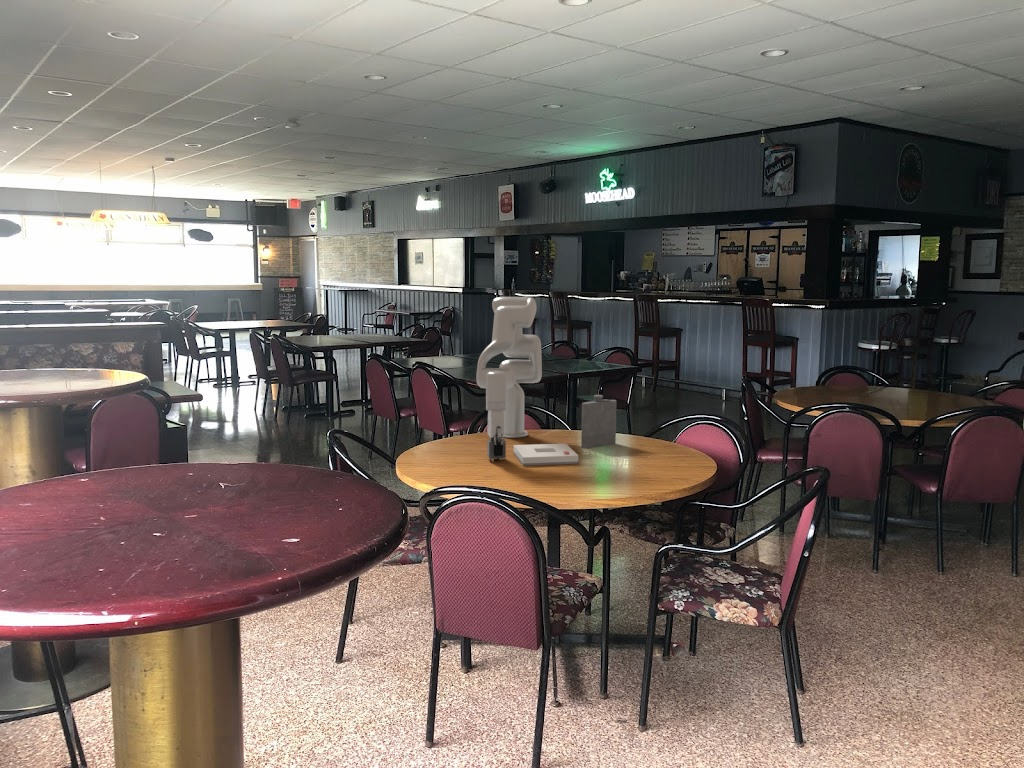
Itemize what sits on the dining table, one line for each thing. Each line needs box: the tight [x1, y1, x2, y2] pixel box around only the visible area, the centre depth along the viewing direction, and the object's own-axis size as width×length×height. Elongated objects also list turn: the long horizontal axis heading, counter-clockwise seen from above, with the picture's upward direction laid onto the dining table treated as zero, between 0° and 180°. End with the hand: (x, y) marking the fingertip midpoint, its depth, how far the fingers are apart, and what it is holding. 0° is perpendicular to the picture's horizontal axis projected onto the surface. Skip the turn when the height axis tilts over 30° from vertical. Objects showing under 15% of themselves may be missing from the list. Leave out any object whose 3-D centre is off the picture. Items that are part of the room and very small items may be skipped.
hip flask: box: [580, 394, 617, 449], centre depth 314 cm, size 16×4×20 cm, turn 121°
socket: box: [513, 442, 579, 467], centre depth 294 cm, size 20×20×4 cm
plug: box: [486, 438, 507, 462], centre depth 290 cm, size 5×6×7 cm
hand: (496, 452), depth 291 cm, fingers open, 8 cm apart
